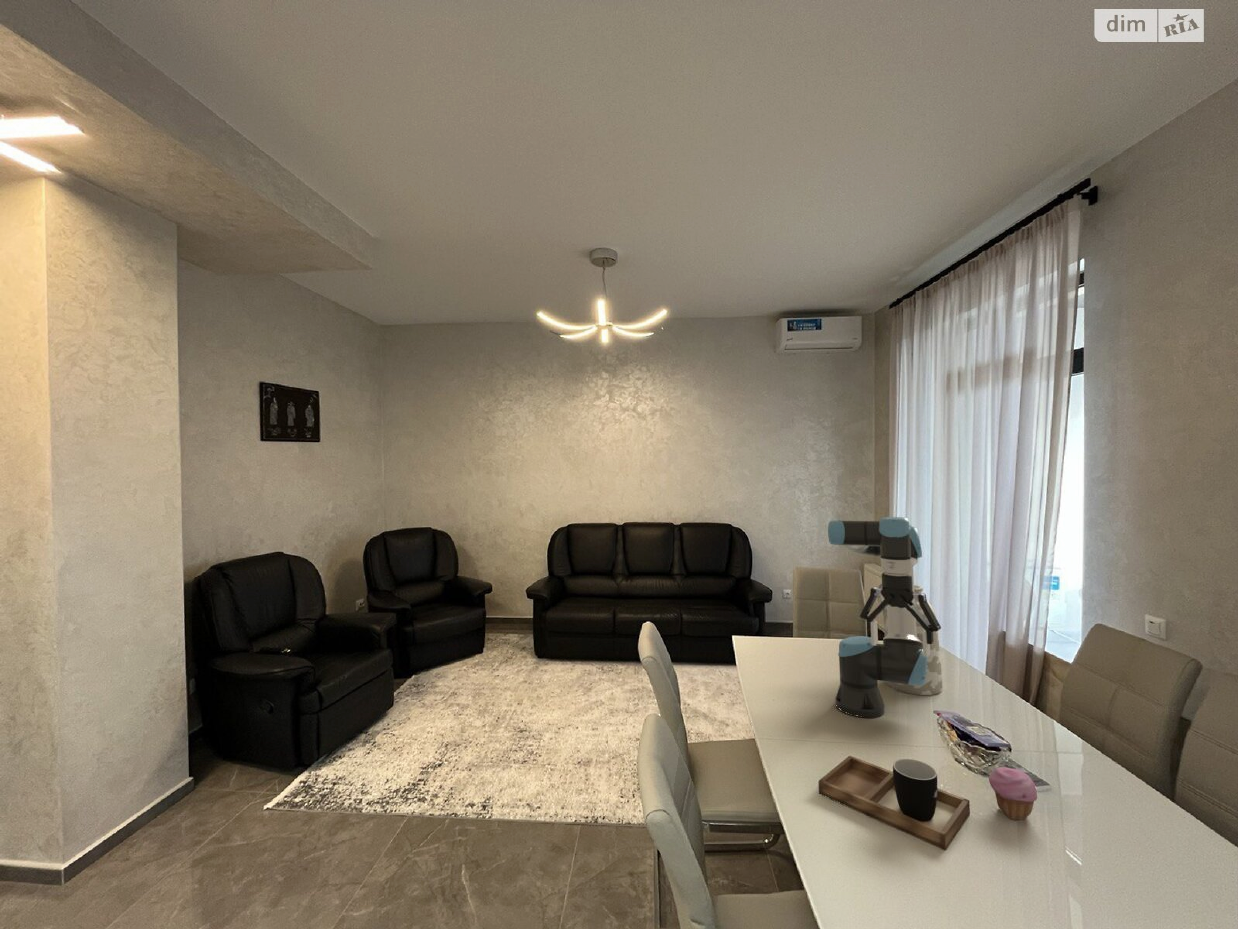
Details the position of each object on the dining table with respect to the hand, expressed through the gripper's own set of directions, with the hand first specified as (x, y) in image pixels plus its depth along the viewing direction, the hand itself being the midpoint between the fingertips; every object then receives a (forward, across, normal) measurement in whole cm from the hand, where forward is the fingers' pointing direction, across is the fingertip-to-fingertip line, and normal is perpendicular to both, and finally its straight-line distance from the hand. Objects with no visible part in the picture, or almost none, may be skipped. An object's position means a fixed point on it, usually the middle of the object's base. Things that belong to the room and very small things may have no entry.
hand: (900, 649), depth 146 cm
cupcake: (+30, +26, -8) cm, 41 cm away
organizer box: (+30, +5, -23) cm, 38 cm away
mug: (+29, +10, -23) cm, 39 cm away
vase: (+32, -18, +55) cm, 66 cm away
